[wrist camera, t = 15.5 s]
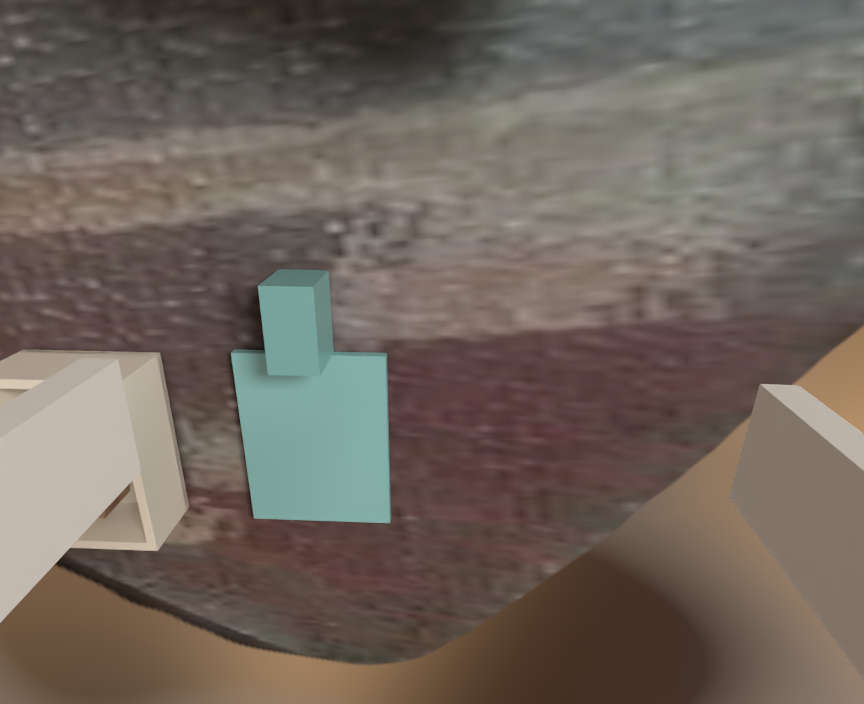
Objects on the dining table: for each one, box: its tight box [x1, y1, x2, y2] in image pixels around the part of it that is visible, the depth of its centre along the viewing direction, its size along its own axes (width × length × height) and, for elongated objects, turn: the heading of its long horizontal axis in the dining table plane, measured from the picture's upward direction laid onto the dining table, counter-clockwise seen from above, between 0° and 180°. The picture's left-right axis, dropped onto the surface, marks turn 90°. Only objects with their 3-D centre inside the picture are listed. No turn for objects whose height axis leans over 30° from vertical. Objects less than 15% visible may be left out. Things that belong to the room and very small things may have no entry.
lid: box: [231, 269, 391, 523], centre depth 46 cm, size 24×13×5 cm, turn 0°
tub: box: [0, 350, 189, 551], centre depth 47 cm, size 16×12×6 cm
